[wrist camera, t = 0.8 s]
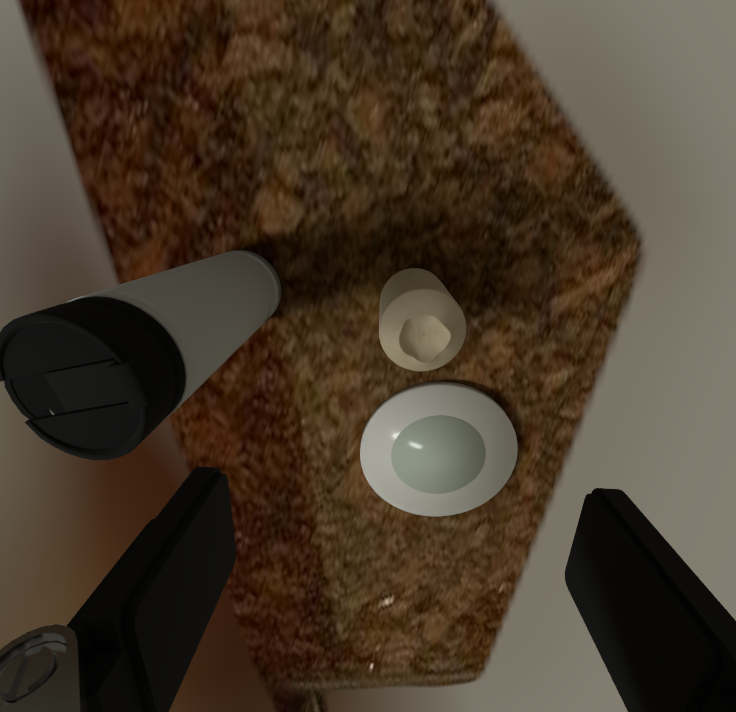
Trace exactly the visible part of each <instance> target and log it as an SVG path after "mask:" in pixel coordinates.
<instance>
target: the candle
mask: <svg viewBox="0 0 736 712" xmlns="http://www.w3.org/2000/svg"><path fill="white" fill-rule="evenodd" d="M465 335H466V322H465V317H464V314H463V312H462V310H461V308H460V307H459V305H458V304H457V302H456V301H455V300H454V298H453V297H452V296H451V294H450V293H449V292H448V290H447V289H446V288H445V286H444V285H443V284H442V282H441V281H440V280H439V279H438V278H437V277H436V276H435V275H434V274H432V273H431V272H429V271H427V270H424V269H420V268H409V269H404V270H402V271H399V272H398V273H396V274H394V275H393V276H392V277H391V278H390V279H389V280H388V281H387V282H386V284H385V285H384V287H383V290H382V293H381V298H380V316H379V338H380V342H381V345H382V348H383V350H384V351H385V353H386V354H387V356H388V357H389V358H390V359H391V360H392V361H393V362H395V363H396V364H397V365H399V366H401V367H403V368H406V369H409V370H413V371H428V370H433V369H436V368H439V367H441V366H443V365H445V364H446V363H448V362H449V361H450V360H452V359H453V358H454V357H455V356H456V354H457V353H458V352H459V350H460V349H461V347H462V345H463V342H464V339H465Z"/></svg>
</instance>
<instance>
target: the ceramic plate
mask: <svg viewBox="0 0 736 712" xmlns="http://www.w3.org/2000/svg"><path fill="white" fill-rule="evenodd" d="M517 452H518V445H517V438H516V433H515V430H514V428H513V426H512V423H511V422H510V420H509V418H508V417H507V415H506V413H505V412H504V410H503V409H502V408H501V407H500V406H499V404H498V403H497V402H496V401H494V400H493V399H492V398H491V397H490V396H488V395H487V394H485V393H483V392H482V391H480V390H478V389H476V388H473V387H471V386H467V385H464V384H460V383H455V382H445V381H436V382H426V383H420V384H417V385H413V386H410V387H408V388H405V389H403V390H400V391H399V392H397V393H395V394H393V395H392V396H390V397H389V398H388V399H386V400H385V401H384V402H383V403H382V404H381V405H380V406H379V407H377V409H376V410H375V411H374V412H373V414H372V415H371V416H370V418H369V420H368V422H367V423H366V426H365V428H364V431H363V435H362V439H361V450H360V458H361V465H362V469H363V472H364V474H365V477H366V479H367V481H368V482H369V484H370V486H371V487H372V488H373V489H374V491H375V492H376V493H377V494H378V495H379V496H380V497H381V498H383V499H384V500H385V501H387V502H388V503H390V504H391V505H393V506H395V507H397V508H399V509H401V510H404V511H407V512H410V513H413V514H418V515H424V516H447V515H454V514H458V513H462V512H465V511H468V510H471V509H473V508H475V507H478V506H480V505H481V504H483V503H485V502H486V501H488V500H489V499H491V498H492V497H493V496H494V495H496V494H497V493H498V492H499V491H500V490H501V489H502V487H503V486H504V485H505V484H506V482H507V481H508V479H509V478H510V476H511V474H512V472H513V469H514V467H515V464H516V460H517Z"/></svg>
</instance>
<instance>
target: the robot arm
mask: <svg viewBox="0 0 736 712" xmlns="http://www.w3.org/2000/svg"><path fill="white" fill-rule="evenodd" d="M235 559H236V545H235V536H234V528H233V519H232V511H231V503H230V494H229V486H228V478H227V475H226V474H222V473H221V470H220V469H219V468H213V467H196V468H195V469H194V470H193V471H192V472H191V473H190V475H189V476H188V477H187V479H186V480H185V481H184V482H183V484H182V485H181V486H180V488H179V489H178V490H177V491H176V493H175V494H174V495H173V497H172V498H171V499H170V500H169V502H168V503H167V504H166V506H165V507H164V508H163V509H162V511H161V512H160V513H159V515H158V516H157V517H156V518H155V519H153V520H151V521H150V522H149V523H148V524H147V525H146V526H145V527H144V529H143V530H142V531H141V532H140V534H139V535H138V536H137V538H136V539H135V540H134V541H133V543H132V544H131V545H130V547H129V548H128V549H127V550H126V552H125V553H124V554H123V555H122V556H121V558H120V559H119V560H118V562H117V563H116V564H115V565H114V567H113V568H112V569H111V571H110V572H109V573H108V574H107V575H106V577H105V578H104V579H103V581H102V582H101V583H100V584H99V586H98V587H97V588H96V589H95V591H94V592H93V593H92V594H91V596H90V597H89V598H88V599H87V601H86V602H85V603H84V605H83V606H82V607H81V608H80V610H79V611H78V612H77V613H76V615H75V616H74V617H73V618H72V620H71V621H70V622H69V624H68V625H67V626H64V625H58V624H55V625H49V626H43V627H40V628H37V629H34V630H32V631H29V632H27V633H25V634H23V635H21V636H20V637H18V638H16V639H14V640H12V641H11V642H10V643H8V644H7V645H5V646H4V647H3V648H2V649H0V712H169V709H170V707H171V705H172V703H173V701H174V698H175V696H176V694H177V692H178V689H179V687H180V685H181V683H182V680H183V678H184V676H185V674H186V672H187V669H188V667H189V665H190V663H191V660H192V658H193V656H194V654H195V651H196V649H197V647H198V645H199V642H200V640H201V638H202V636H203V633H204V631H205V629H206V627H207V624H208V622H209V620H210V618H211V615H212V613H213V611H214V608H215V606H216V604H217V602H218V600H219V597H220V595H221V593H222V591H223V588H224V586H225V584H226V582H227V579H228V577H229V575H230V573H231V571H232V568H233V566H234V563H235ZM565 581H566V585H567V587H568V590H569V592H570V594H571V596H572V598H573V600H574V602H575V604H576V606H577V608H578V610H579V612H580V614H581V616H582V618H583V620H584V622H585V624H586V626H587V628H588V631H589V632H590V635H591V637H592V639H593V641H594V643H595V644H596V647H597V649H598V651H599V653H600V655H601V657H602V659H603V661H604V663H605V665H606V667H607V669H608V672H609V673H610V675H611V677H612V680H613V682H614V684H615V686H616V688H617V690H618V692H619V694H620V696H621V698H622V700H623V702H624V704H625V706H626V708H627V710H628V712H736V621H735V620H734V618H733V617H732V616H731V615H730V614H729V613H728V611H727V610H726V609H725V608H724V607H723V606H722V605H721V603H720V602H719V601H718V600H717V599H716V598H715V597H714V595H713V594H712V593H711V592H710V591H709V590H708V588H707V587H706V586H705V585H704V584H703V583H702V582H701V580H700V579H699V578H698V577H697V576H696V575H695V573H694V572H693V571H692V570H691V569H690V568H689V567H688V565H687V564H686V563H685V562H684V561H683V560H682V559H681V557H680V556H679V555H678V554H677V553H676V552H675V550H674V549H673V548H672V547H671V546H670V545H669V543H668V542H667V541H666V540H665V539H664V538H663V536H661V534H660V533H659V532H658V531H657V530H656V528H655V527H654V526H653V525H652V524H651V523H650V521H649V520H648V519H647V518H646V517H645V516H644V515H643V513H642V512H641V511H640V510H639V509H638V508H637V507H636V505H635V504H634V503H633V502H632V501H631V500H630V498H629V497H628V496H627V495H626V494H625V493H624V492H623V491H622V490H619V489H603V488H596V489H594V490H593V491H592V493H591V494H587V495H586V497H585V500H584V503H583V507H582V511H581V515H580V518H579V522H578V526H577V529H576V533H575V536H574V540H573V544H572V547H571V552H570V555H569V558H568V562H567V566H566V570H565Z"/></svg>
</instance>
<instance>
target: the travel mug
mask: <svg viewBox="0 0 736 712" xmlns="http://www.w3.org/2000/svg"><path fill="white" fill-rule="evenodd" d="M280 299H281V285H280V280H279V278H278V275H277V273H276V271H275V270H274V268H273V267H272V266H271V265H270V263H269V262H268V261H267V260H265V259H264V258H263V257H261V256H260V255H258V254H256V253H253V252H250V251H246V250H234V251H229V252H226V253H223V254H219V255H216V256H213V257H209V258H206V259H203V260H200V261H196V262H193V263H190V264H186V265H183V266H180V267H177V268H173V269H170V270H167V271H163V272H160V273H157V274H154V275H150V276H147V277H144V278H140V279H137V280H134V281H131V282H127V283H124V284H121V285H117V286H114V287H111V288H108V289H105V290H101V291H98V292H95V293H92V294H88V295H84V296H81V297H79V298H76V299H73V300H70V301H68V302H67V303H65V304H60V305H57V306H54V307H51V308H47V309H44V310H41V311H38V312H35V313H31V314H28V315H25V316H22V317H19V318H17V319H14V320H12V321H11V322H10V323H8V324H7V325H6V326H5V327H3V329H2V330H1V332H0V381H4V383H5V388H6V390H7V392H8V393H9V395H10V397H11V399H12V401H13V402H14V404H15V405H16V406H17V407H18V409H19V410H20V412H21V413H22V414H23V415H25V416H26V417H27V418H28V419H30V420H28V421H26V422H25V423H26V424H27V425H28V426H29V427H30V428H31V429H32V430H33V431H34V432H35V433H36V434H37V435H38V436H39V437H40V438H42V439H43V440H44V441H46V442H48V443H49V444H51V445H52V446H54V447H56V448H58V449H60V450H62V451H64V452H66V453H68V454H71V455H74V456H78V457H81V458H86V459H91V460H110V459H114V458H119V457H122V456H124V455H125V454H128V453H130V452H131V451H132V450H133V449H134V448H135V447H137V446H138V445H139V444H140V443H141V442H142V441H143V440H144V439H145V438H146V437H147V436H148V435H149V434H150V433H151V432H152V431H153V430H154V429H155V428H156V427H157V426H158V425H159V424H160V423H161V422H162V421H163V420H164V419H165V418H167V417H168V416H170V415H171V414H172V413H173V412H174V411H175V410H176V409H177V408H178V407H179V406H180V405H181V404H182V403H183V402H184V401H185V400H186V399H187V398H188V397H189V396H190V395H191V394H192V393H193V392H194V391H195V390H196V389H197V388H199V387H200V386H201V385H202V384H203V383H204V382H205V381H206V380H207V379H208V378H209V377H210V376H211V375H212V374H213V373H214V372H215V371H216V370H217V369H218V368H219V367H220V366H221V365H222V364H223V363H224V362H225V361H226V360H227V359H228V358H229V357H230V356H231V355H232V354H233V353H234V352H235V351H236V350H237V349H238V348H239V347H240V346H241V345H242V344H243V343H244V342H245V341H246V340H247V339H248V338H249V337H250V336H251V335H252V334H253V333H254V332H255V331H256V330H257V329H258V328H259V327H260V326H261V325H262V324H263V323H264V322H265V321H266V320H267V319H268V318H269V317H270V316H271V315H272V314H273V313H274V312H275V311H276V309H277V307H278V305H279V303H280Z"/></svg>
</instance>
